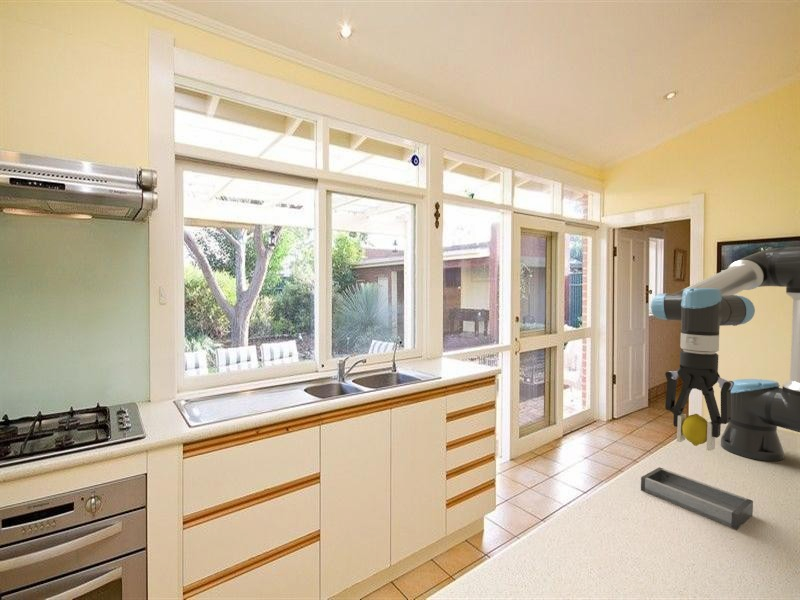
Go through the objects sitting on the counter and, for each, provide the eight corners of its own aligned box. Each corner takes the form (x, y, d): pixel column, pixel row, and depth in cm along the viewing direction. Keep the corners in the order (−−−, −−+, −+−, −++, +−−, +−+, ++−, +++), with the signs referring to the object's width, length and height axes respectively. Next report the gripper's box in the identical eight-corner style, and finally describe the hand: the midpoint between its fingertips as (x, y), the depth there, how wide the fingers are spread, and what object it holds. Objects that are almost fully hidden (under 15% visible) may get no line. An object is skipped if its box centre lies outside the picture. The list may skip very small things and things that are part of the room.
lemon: (685, 448, 96) (686, 415, 96) (678, 439, 101) (680, 409, 101) (713, 452, 94) (714, 418, 94) (705, 443, 99) (706, 411, 99)
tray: (658, 479, 109) (659, 467, 109) (752, 515, 93) (753, 500, 92) (640, 490, 104) (641, 477, 104) (736, 530, 87) (737, 514, 87)
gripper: (650, 347, 102) (647, 435, 103) (741, 359, 87) (737, 462, 88) (664, 344, 106) (661, 429, 107) (753, 355, 91) (749, 454, 92)
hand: (695, 444), depth 98 cm, fingers closed on lemon, 5 cm apart
